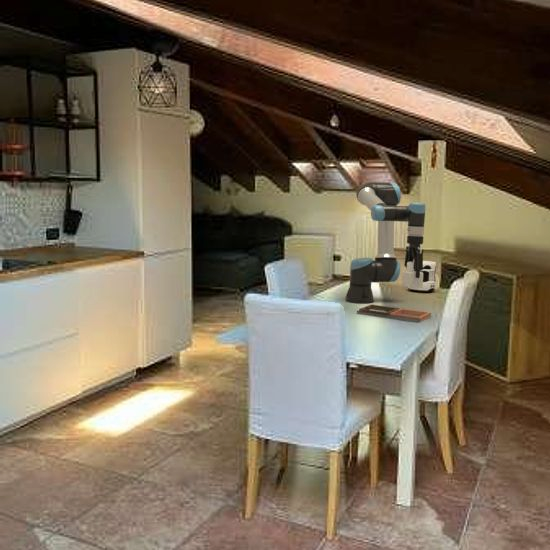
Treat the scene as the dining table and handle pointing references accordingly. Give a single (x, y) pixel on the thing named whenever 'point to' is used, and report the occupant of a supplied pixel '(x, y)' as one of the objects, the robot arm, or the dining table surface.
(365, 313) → the rail bar
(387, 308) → the frame
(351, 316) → the dining table surface
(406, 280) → the medicine bottle
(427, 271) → the milk container
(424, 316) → the frame
